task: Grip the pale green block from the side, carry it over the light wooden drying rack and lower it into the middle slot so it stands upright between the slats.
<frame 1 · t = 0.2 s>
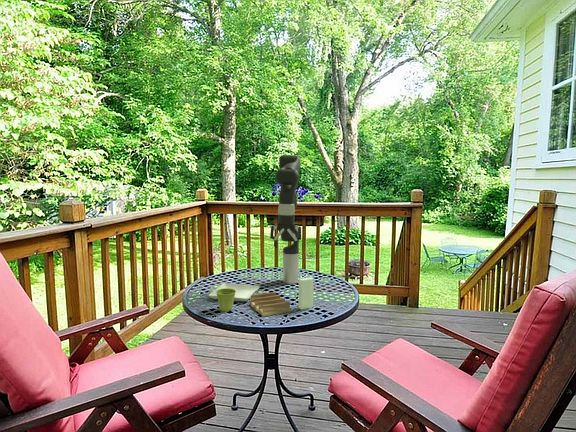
hand: (285, 248, 175), 29 cm above the table, tool pointing down, fingers open, 8 cm apart
plant pot: (226, 309, 177), on the table
drying rack: (269, 307, 179), on the table
pale green block: (305, 307, 180), on the table
salad plate: (235, 296, 196), on the table
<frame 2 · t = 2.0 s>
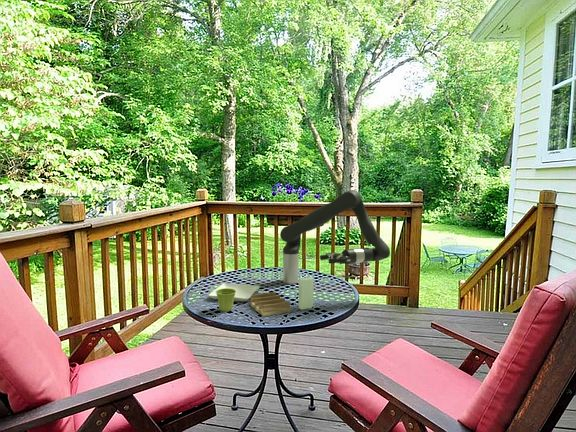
hand: (324, 259, 182), 22 cm above the table, tool horizontal, fingers open, 8 cm apart
nothing on the table moved.
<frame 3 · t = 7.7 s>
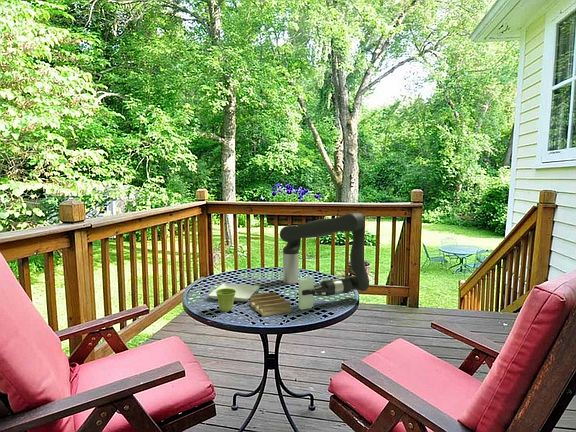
hand: (300, 291, 178), 8 cm above the table, tool horizontal, fingers closed on pale green block, 2 cm apart
pale green block: (305, 307, 180), on the table, touching gripper
everything else where it was.
when the fingers open (11 cm above the table, at t = 12.6 s): pale green block stays where it is, resting on drying rack.
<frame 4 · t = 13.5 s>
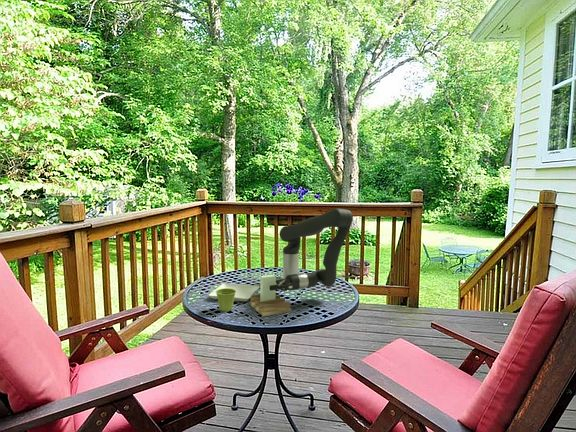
hand: (266, 285, 177), 11 cm above the table, tool horizontal, fingers open, 8 cm apart
pale green block: (267, 305, 178), point 1 cm above the table, touching drying rack
everything else where it was.
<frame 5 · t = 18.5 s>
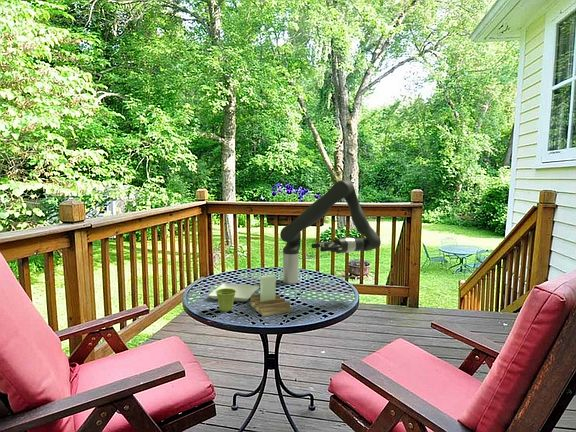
hand: (316, 247, 182), 28 cm above the table, tool horizontal, fingers open, 8 cm apart
nothing on the table moved.
at the end: pale green block 1.1 cm off-centre on the drying rack, point 1.5 cm above the drying rack's base; pale green block tilted 0°; the gripper is holding nothing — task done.
